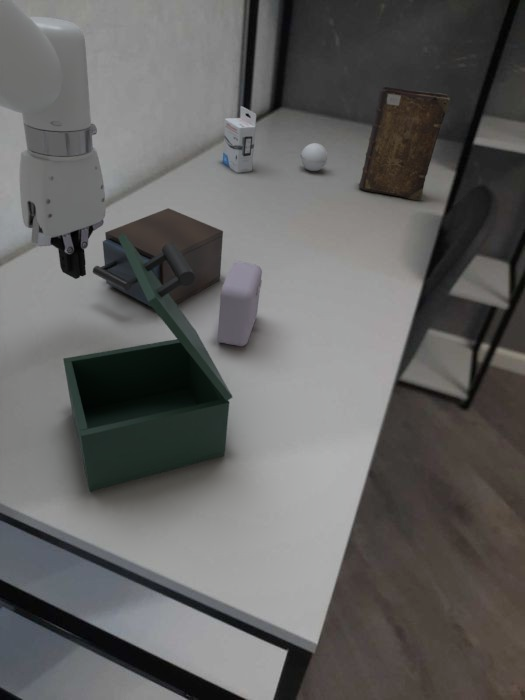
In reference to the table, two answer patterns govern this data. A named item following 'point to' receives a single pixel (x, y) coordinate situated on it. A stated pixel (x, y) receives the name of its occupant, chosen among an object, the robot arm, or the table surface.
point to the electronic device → (239, 303)
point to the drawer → (122, 271)
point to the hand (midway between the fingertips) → (73, 273)
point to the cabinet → (190, 238)
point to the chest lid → (173, 303)
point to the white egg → (314, 157)
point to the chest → (143, 412)
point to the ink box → (239, 141)
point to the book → (402, 141)
